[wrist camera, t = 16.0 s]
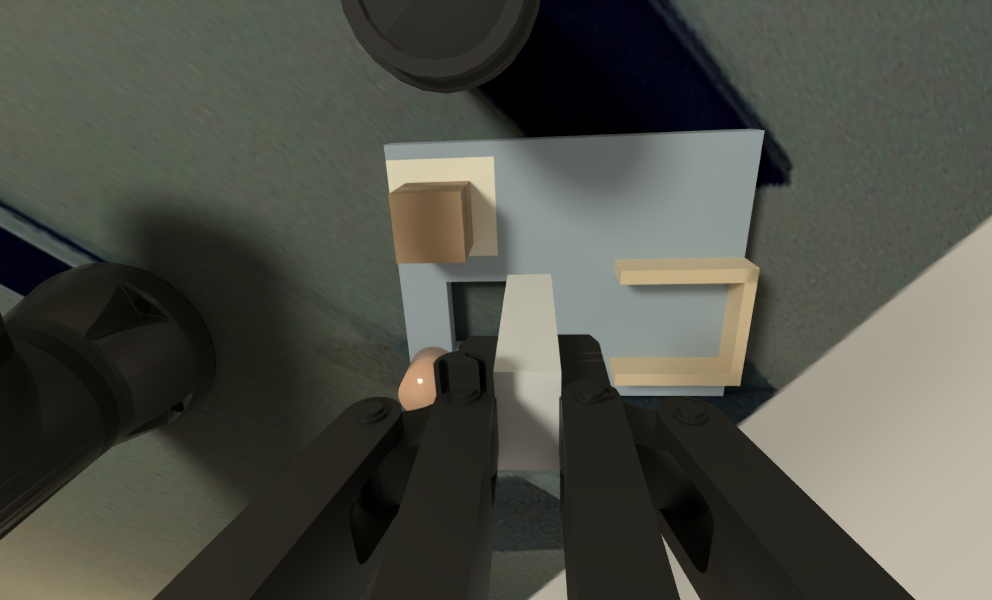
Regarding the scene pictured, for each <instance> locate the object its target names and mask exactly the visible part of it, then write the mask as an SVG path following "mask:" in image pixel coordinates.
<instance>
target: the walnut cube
mask: <svg viewBox="0 0 992 600" xmlns="http://www.w3.org/2000/svg"><path fill="white" fill-rule="evenodd" d="M388 195H389V203H390V211H391V219H392V228H393V236H394V244H395V252H396V260H397V264H414V263H466V260H467V258H468V256H469V253H470V251H471V248H472V246H473V228H472V212H471V195H470V181H450V182H419V183H405V184H404V185H402V186H400V187H399V188H397V189H396V190H394V191H392V192H391V193H389V194H388Z"/></svg>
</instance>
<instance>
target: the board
mask: <svg viewBox="0 0 992 600" xmlns="http://www.w3.org/2000/svg"><path fill="white" fill-rule="evenodd" d="M763 136H764V130H757V129H735V130H710V131H685V132H659V133H634V134H609V135H583V136H558V137H532V138H507V139H482V140H456V141H431V142H405V143H390V144H387V145H384V151H385V159H386V167H387V175H388V183H389V191H390V193H391V192H392V191H394V190H396V189H397V188H399V187H400V186H402V185H404V184H405V183H419V182H450V181H470V195H471V212H472V228H473V246H472V248H471V251H470V253H469V256H468V258H467V260H466V263H414V264H398V265H399V273H400V281H401V289H402V297H403V305H404V314H405V322H406V330H407V338H408V346H409V354H410V363H411V362H412V359H413V357H414V356H415V355H416V353H418V352H419V351H420V350H422V349H424V348H428V347H439V348H443V349H445V350H447V351H449V352H452V351H456V350H458V349H459V346H460V344H461V343H462V342H463V341H456V337H455V325H454V312H453V300H452V288H451V282H477V281H507V275H526V274H551V279H552V288H553V298H554V307H555V317H556V326H557V334H590V335H591V336H592V337H593V338H595V339H596V340H597V341H598V342H599V344H600V348H601V351H602V355H603V359H604V362H605V366H606V369H607V373H608V377H609V380H610V384H611V386H613V387H614V388H616V389H617V391H618V392H619V394H620V396H723V393H724V387H725V386H740V383H741V377H742V371H743V365H744V359H745V353H746V347H747V342H748V336H749V330H750V324H751V318H752V312H753V306H754V300H755V294H756V288H757V283H758V277H759V271H760V268H758V267H757V266H756V265H754V264H753V263H752V262H750V261H749V260H748V259H746V258H745V252H746V245H747V239H748V233H749V226H750V220H751V213H752V207H753V200H754V194H755V188H756V181H757V175H758V168H759V162H760V156H761V149H762V143H763Z"/></svg>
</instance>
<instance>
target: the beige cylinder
mask: <svg viewBox="0 0 992 600" xmlns="http://www.w3.org/2000/svg"><path fill="white" fill-rule="evenodd" d="M445 353H449V351H447V350H445V349H443V348H439V347H428V348H424V349H422V350H420V351H419V352H418V353H416V355H415V356H414V357H413V359H412V362H411V364H410V366H409V368H408V370H407V372H406V374H405V376H404V379H403V381H402V383H401V385H400V388H399V399H400V402H401V404H402V406H403V407H404V408H405V409H406V410H407V411H409V410H414V409H419V408H422V407H426V406H428V405H430V404H433V403H434V400H435V397H436V387H435V378H434V368H433V363H434V362H435V360H436V359H437V358H438V357H440V356H442V355H443V354H445Z"/></svg>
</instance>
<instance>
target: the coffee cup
mask: <svg viewBox="0 0 992 600" xmlns="http://www.w3.org/2000/svg"><path fill="white" fill-rule="evenodd" d="M341 3H342V7H343V11H344V14H345V16H346V18H347V20H348V22H349V24H350V26H351V28H352V30H353V32H354V35H355V37H356V39H357V40H358V41H359V42H360V44H361V45H362V46H363V47H364V49H365V50H366V51H367V52H368V54H369V55H370V56H371V58H372V59H373V60H374V61H375V62H377V63H378V64H379V65H380V66H382V67H383V68H384V69H386V70H387V71H388V72H389V73H391V74H392V75H393V76H395V77H396V78H397V79H399V80H400V81H402V82H404V83H407V84H409V85H411V86H414V87H416V88H419V89H421V90H423V91H432V92H440V93H453V92H459V91H465V90H471V89H473V88H475V87H477V86H479V85H481V84H484V83H486V82H488V81H490V80H492V79H494V78H495V77H496V76H497V75H499V74H500V73H501V72H502V71H503V70H504V69H506V68H507V67H508V66H509V65H510V64H511V63H512V62H513V61H514V59H515V58H516V56H517V55H518V53H519V52H520V50H521V49H522V47H523V46H524V45H525V43H526V42H527V40H528V39H529V36H530V33H531V30H532V28H533V25H534V22H535V20H536V17H537V14H538V12H539V5H540V0H341Z"/></svg>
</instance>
